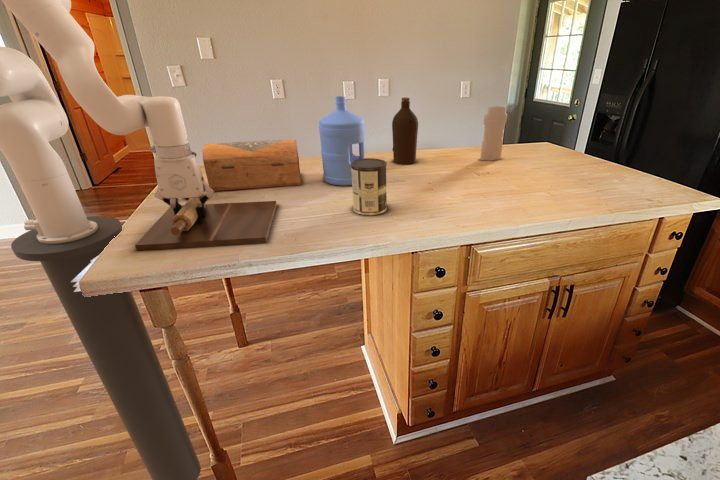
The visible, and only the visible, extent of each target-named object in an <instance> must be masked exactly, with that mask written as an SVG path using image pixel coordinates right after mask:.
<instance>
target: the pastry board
mask: <svg viewBox="0 0 720 480" xmlns="http://www.w3.org/2000/svg"><path fill="white" fill-rule="evenodd" d="M277 203H278V202H277V200H265V201H246V202H223V203H222V202H221V203H206V207H205V212H206V217H205V218H204V220H203V221H199V219H198V218H197V220H196V221H195V223H194V224H193V225H192V227H191V228H190V229H189V230H188V231H182V232H181V233H180V234H179V235H173V234H172V233H171V228H172V227H173V223H172V219H173V218H174V217H175V214H174V210H173V208H171V207H170V206H169V207H168V209H166V210H165V212H164V213H163V214H162V215H161V216H160V217H159V219H157V220H156V221H155V222H154V224H152V226H151V227H150V228H149V229H148V230H147V231H146V232H145V233H144V235H143V236H142V237H140V239H139V240H138V241H137V242H136V243H135V244H134V247H135V251H137V252H141V251H155V250H169V249H171V250H172V249H186V248H203V247H219V246H233V245H249V244H250V245H251V244H266V243H267V242H268V238H269V235H270V231H271V227H272V224H273V220H274V217H275V214H276V211H277V207H278V204H277ZM184 205H185V204H181V206H182V207H183V206H184Z"/></svg>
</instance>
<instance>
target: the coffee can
mask: <svg viewBox="0 0 720 480" xmlns="http://www.w3.org/2000/svg"><path fill="white" fill-rule="evenodd" d="M387 163H388V162H387V161H386V160H384V159H380V158H374V157H373V158H372V157H371V158H369V157H368V158H367V157H366V158H365V159H358V160H354V161H352V162H351V172H352V185H351V187H352V206H353V212H354V213H356V214H358V215H363V216H376V215H382V214H383V213H385V212H386V211H387V210H388V207H387V206H388V205H387V203H388V202H387V165H388V164H387Z"/></svg>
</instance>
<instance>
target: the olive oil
mask: <svg viewBox="0 0 720 480" xmlns="http://www.w3.org/2000/svg"><path fill="white" fill-rule="evenodd" d="M410 99H411V98H410V97H401V101H400V109H399V110H398V111H397V112H396V113H395V115H394V116H393V118H392V122H391V131H392V132H391V133H392V148H391V149H392V155H393V156H392V157H393V162H394V164H397V165H412V164H415V163H416V161H417V148H418V147H417V146H418V145H417V144H418V134H419V120H418V117H417V115H416V114H415V113H414V112H413V110H412V109H411V101H410Z"/></svg>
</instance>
